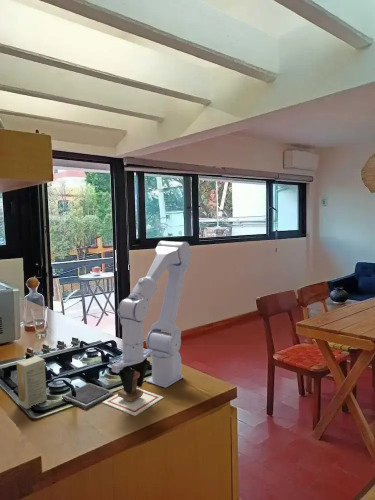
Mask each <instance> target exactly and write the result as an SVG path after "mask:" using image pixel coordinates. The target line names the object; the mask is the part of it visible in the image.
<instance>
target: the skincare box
mask: <svg viewBox="0 0 375 500" xmlns="http://www.w3.org/2000/svg"><path fill="white" fill-rule="evenodd" d="M16 373H17V374H16V376H17V391H18V404H19V405H20V406H21V407H22V408H24V409H25V410H28V409H30V408H32V407H31V406H33V405H35V406H37V405H39V403H40V404H42V403H44V402H47V400H48V398H47V397H48V395H47V381H46V379H47V378H46V377H47V376H46V362H45V359H44V358H42V357H40V356H39V355H35V356H32V357H29V358H26V359H22V360H20V361H17V362H16ZM36 404H37V405H36ZM33 407H34V406H33Z"/></svg>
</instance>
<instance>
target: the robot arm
mask: <svg viewBox="0 0 375 500" xmlns="http://www.w3.org/2000/svg"><path fill="white" fill-rule="evenodd" d="M154 254H155V257H154V259H153V262H151V263H152V264H151V265H150V267H149V269H148V271H147V274H145V275H146V276H144V277H140V278H139V279H138V281H137V282H136V284H135V286H134V287H133V289H132V290H131V292H130V293H129V295H128V296H127V297H126V298H124V299H122V300H121V301H120V303H119V305H118V308H117V310H116V312H117V316H118V317H119V321H120V325H121V327H122V330H121V331H122V332H121V334H122V338H121V339H122V340H121V341H122V354H120V358H119V359H118V360H117V361H116V362H114V363H112V364H111V372H113V373H116V374H117V375H118V377H119V379H120V380H121V385H122V386H123V387H122V389H123V388H124V391H125V392H128V393H131V392H132V381H133V376H134V373H135V370H137V371H139V372H140V376H139V378H138V379H137V388H142V387H143V383H144V380H145V377H146V373H147V371H148V368H149V366H150V365H151V377H148V378H147V379H146V380H145V381H146V382H147V383H150V384H152V385H156V386H158V387H162V388H168V387H170V386H171V385H172V384H174V383H176V382H178V381H180V380H181V379H183V378H184V375H182V357H181V353H180V352H179V351H180V349H181V345H182V339H181V338H182V337H181V336H182V330H181V329H180V328H179V326H178V325H177V324H176V321H177V316H178V310H179V307H180V300H181V296H182V291H183V286H184V281H185V277H186V273H187V271H188V270H189V267H190V263H191V257H192V249H191V246H190V244H189V242H188V241H170V240H169V241H168V240H160V241H158V243H157V245H156V247H155V250H154ZM166 269H167V270H168V277H167V280H166V281H167V282H166V286H165V290H164V294H163V299H162V305H161V309H160V314H159V318H158V320H157V321H156V322H153V324H151V326H150V329H149V331H148V334H147V335H146V338H145V345H146V349H144V320H145V318H146V317H147V316H148V313H149V307H150V301H151V300H152V298H153V296H154V295H155V293H156V291H157V288H158V285H157V281H158V280H159V279H160V278H161V276H162V275H163V273H164V272H165V270H166ZM147 358H151V361H150V360H148V359H147ZM130 366H132V367H130Z"/></svg>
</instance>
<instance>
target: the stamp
mask: <svg viewBox="0 0 375 500" xmlns="http://www.w3.org/2000/svg"><path fill="white" fill-rule="evenodd" d="M139 376H140V372H139V371H137V370H135V373H134V376H133V381H132V392H131V393H128V392H125V391H124V388H123V387H122V389H120V390H118V391H117V394H118V396H119V397H121V398H123V399H126V400H128V401H130V402H133V401H134V400H136V399H138V398H139V397H141V396H142V395H143V391H142V390H143V389H142V390H140V389H141V388H139V387H138V386H137V379H138V378H139ZM138 388H139V389H138Z"/></svg>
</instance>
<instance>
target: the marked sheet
mask: <svg viewBox="0 0 375 500" xmlns="http://www.w3.org/2000/svg"><path fill="white" fill-rule="evenodd" d="M137 388H138V389H140V390H142V391H143V395H142V396H141V397H139V398H138V399H136V400H134V401H133V402H130V401H128V400H126V399H123V398H121V397H119V396H118V393H117V394H115V395H112V396H110V397H109V398H107V399H105V400H103V401H102V404H103V405H106V406H109V407H112V408H114V409H117V410H119V411H121V412H123V413H126V414H129V415H130V416H131V415H132V416H134V417H136V416H137V415H139V414H140V413H142V412H144V411H145V410H147V409H148V408H150V407H151V406H153V405H154V404H156V403H158V402H159V401H161V400H162V399H164V396H162V395H158V394H156V393H153V392H150V391H147V390H145V389H142V388H140V387H137Z"/></svg>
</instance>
